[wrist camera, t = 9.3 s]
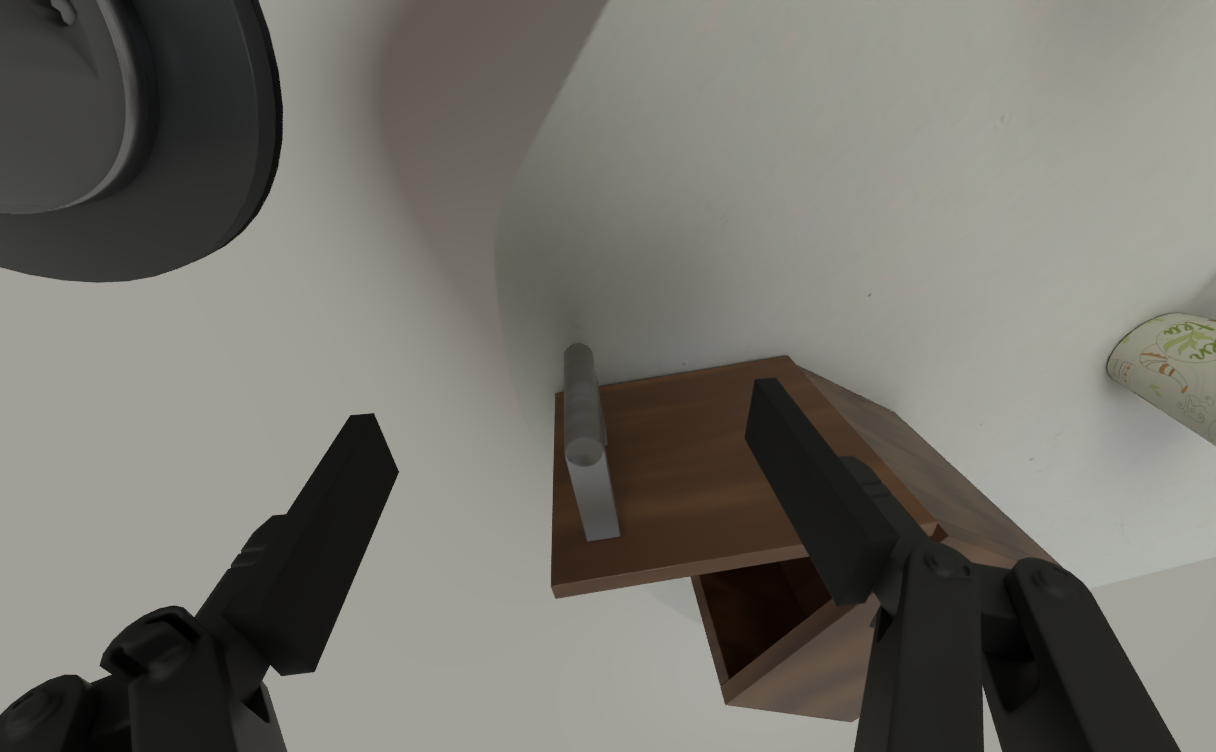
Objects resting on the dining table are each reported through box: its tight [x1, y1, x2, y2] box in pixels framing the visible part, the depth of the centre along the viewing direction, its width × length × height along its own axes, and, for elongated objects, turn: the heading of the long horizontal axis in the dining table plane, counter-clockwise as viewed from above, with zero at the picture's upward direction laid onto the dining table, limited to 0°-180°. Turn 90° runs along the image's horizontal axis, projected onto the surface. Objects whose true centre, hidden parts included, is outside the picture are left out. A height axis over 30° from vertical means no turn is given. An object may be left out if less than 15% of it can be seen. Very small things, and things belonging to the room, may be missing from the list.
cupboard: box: [690, 366, 1063, 722], centre depth 31 cm, size 11×17×15 cm, turn 152°
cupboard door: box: [551, 343, 938, 599], centre depth 23 cm, size 7×17×15 cm, turn 98°
